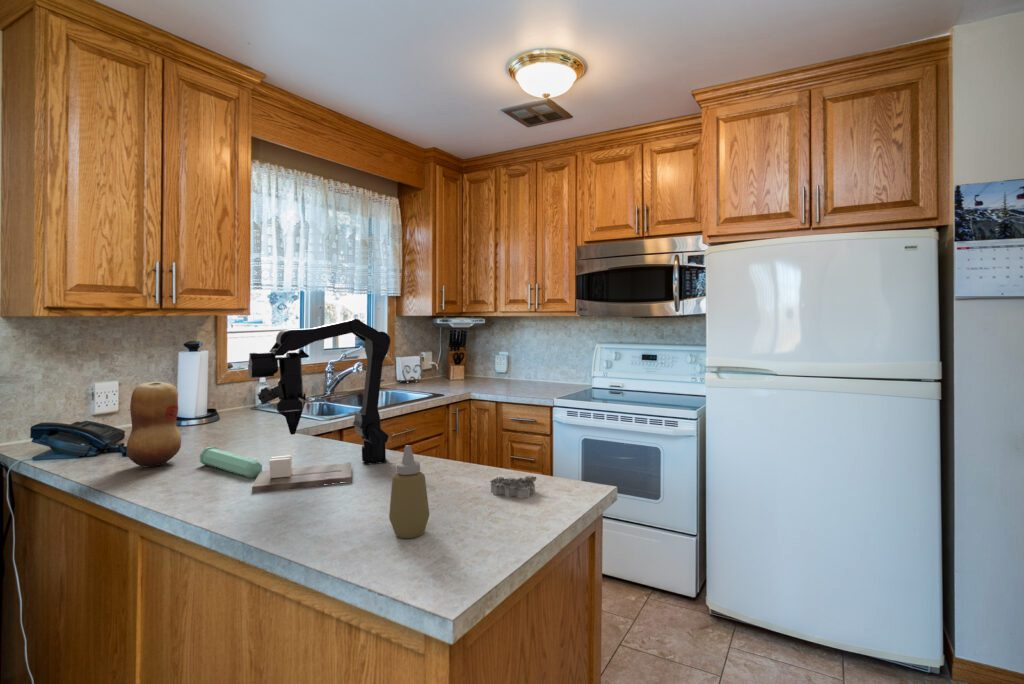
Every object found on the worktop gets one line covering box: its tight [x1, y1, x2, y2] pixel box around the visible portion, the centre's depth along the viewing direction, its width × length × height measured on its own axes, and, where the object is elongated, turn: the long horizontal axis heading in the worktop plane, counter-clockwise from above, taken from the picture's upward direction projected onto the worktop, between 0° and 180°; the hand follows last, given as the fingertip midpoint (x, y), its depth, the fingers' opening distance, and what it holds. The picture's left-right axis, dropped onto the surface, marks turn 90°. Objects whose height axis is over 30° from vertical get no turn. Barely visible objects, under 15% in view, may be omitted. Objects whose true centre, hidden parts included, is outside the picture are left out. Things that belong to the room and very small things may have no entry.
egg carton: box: [489, 475, 537, 500], centre depth 130 cm, size 11×8×4 cm
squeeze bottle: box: [388, 444, 430, 539], centre depth 106 cm, size 8×8×18 cm
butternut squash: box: [126, 381, 182, 467], centre depth 158 cm, size 14×13×25 cm
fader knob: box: [269, 454, 293, 478], centre depth 141 cm, size 5×4×5 cm
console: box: [251, 462, 352, 493], centre depth 143 cm, size 24×14×2 cm, turn 107°
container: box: [199, 445, 263, 479], centre depth 152 cm, size 6×6×25 cm
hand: (294, 430), depth 146 cm, fingers open, 9 cm apart
